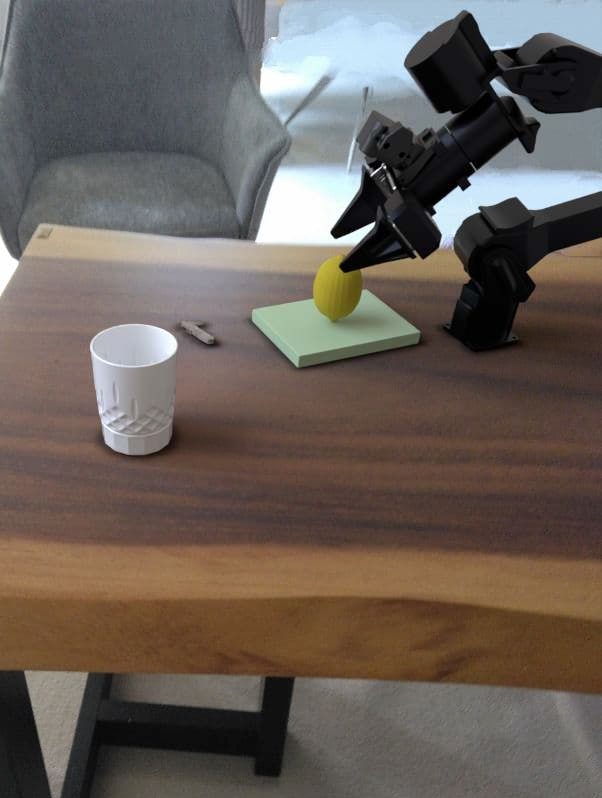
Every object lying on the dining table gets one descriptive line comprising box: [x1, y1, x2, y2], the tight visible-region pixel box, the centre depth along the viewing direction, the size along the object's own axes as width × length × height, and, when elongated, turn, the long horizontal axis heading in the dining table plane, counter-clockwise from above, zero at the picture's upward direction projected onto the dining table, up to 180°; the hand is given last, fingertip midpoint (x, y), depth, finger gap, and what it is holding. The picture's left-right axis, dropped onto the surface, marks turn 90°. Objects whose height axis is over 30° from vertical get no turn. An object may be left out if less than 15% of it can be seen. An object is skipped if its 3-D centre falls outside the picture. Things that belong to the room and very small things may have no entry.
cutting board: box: [251, 288, 421, 369], centre depth 94 cm, size 16×12×2 cm
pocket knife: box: [180, 320, 215, 345], centre depth 93 cm, size 6×1×3 cm
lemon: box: [312, 253, 363, 322], centre depth 91 cm, size 6×6×8 cm
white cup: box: [89, 323, 179, 456], centre depth 75 cm, size 8×8×10 cm
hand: (336, 252), depth 88 cm, fingers open, 9 cm apart
